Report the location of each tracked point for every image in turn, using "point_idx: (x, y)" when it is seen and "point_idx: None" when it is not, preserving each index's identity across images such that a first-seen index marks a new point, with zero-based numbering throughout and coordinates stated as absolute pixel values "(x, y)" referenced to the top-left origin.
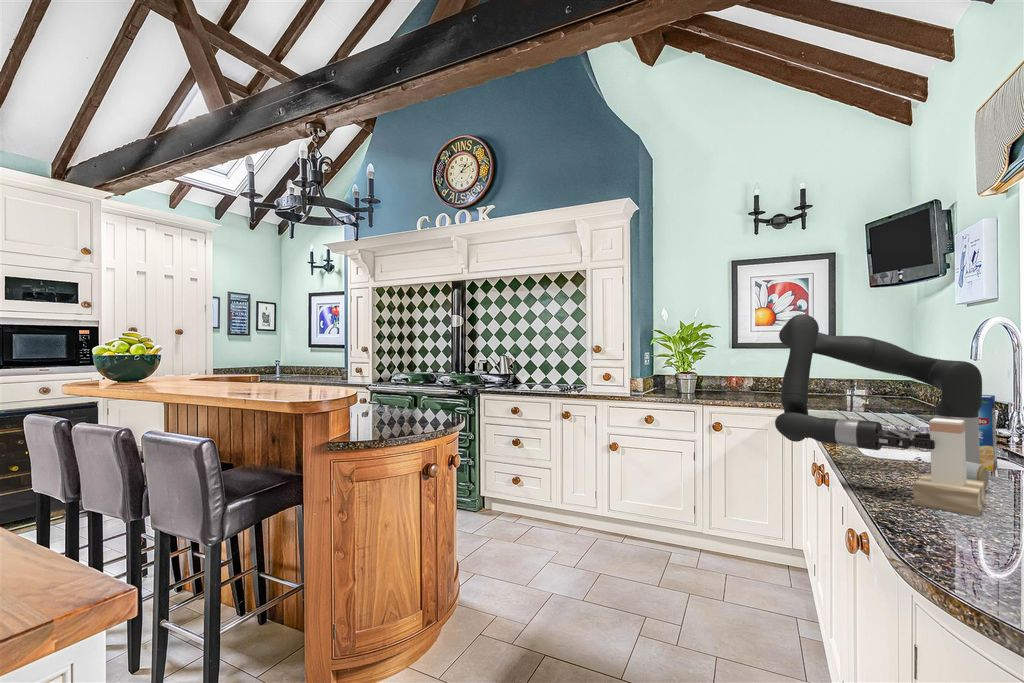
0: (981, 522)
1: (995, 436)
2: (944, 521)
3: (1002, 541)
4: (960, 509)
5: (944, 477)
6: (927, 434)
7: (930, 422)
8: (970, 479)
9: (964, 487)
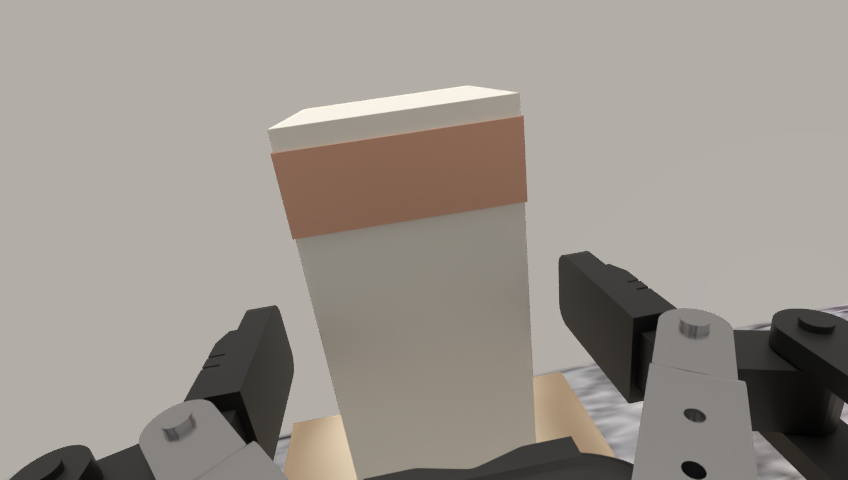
0: (622, 417)
1: None
2: (773, 477)
3: None
4: None
5: None
6: (253, 356)
7: (519, 113)
8: (287, 463)
9: None
